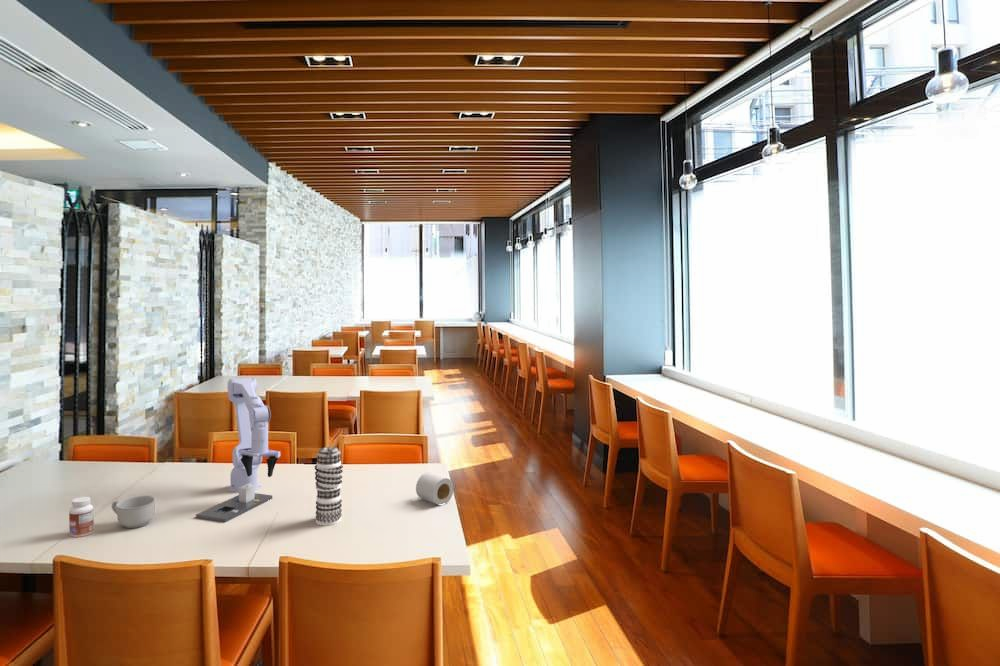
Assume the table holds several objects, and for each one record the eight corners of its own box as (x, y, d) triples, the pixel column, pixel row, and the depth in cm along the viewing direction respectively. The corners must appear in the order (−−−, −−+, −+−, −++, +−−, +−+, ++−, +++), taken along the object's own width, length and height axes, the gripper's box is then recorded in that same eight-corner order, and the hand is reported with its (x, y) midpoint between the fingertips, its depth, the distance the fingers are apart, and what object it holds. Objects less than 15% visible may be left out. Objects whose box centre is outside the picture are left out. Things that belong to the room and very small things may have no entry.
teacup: (163, 521, 191) (162, 497, 191) (132, 533, 181) (132, 508, 181) (132, 515, 196) (132, 492, 196) (101, 526, 186) (101, 502, 185)
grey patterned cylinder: (327, 528, 188) (327, 453, 187) (308, 521, 193) (308, 449, 192) (348, 519, 196) (348, 447, 195) (329, 513, 201) (330, 443, 200)
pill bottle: (67, 533, 180) (66, 499, 179) (90, 528, 185) (89, 494, 184) (72, 539, 176) (71, 504, 175) (96, 533, 181) (95, 499, 180)
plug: (238, 504, 207) (238, 485, 207) (247, 500, 212) (247, 481, 211) (246, 505, 206) (246, 486, 206) (254, 501, 211) (254, 482, 210)
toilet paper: (453, 501, 216) (453, 475, 215) (433, 508, 208) (433, 481, 208) (435, 495, 222) (436, 469, 222) (415, 501, 215) (416, 475, 215)
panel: (196, 518, 194) (195, 513, 194) (245, 495, 217) (245, 491, 217) (225, 523, 191) (225, 518, 191) (272, 499, 214) (272, 494, 214)
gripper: (234, 441, 205) (235, 478, 206) (274, 442, 205) (274, 479, 206) (244, 436, 212) (244, 472, 213) (282, 438, 212) (282, 473, 213)
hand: (259, 475), depth 210 cm, fingers open, 7 cm apart
